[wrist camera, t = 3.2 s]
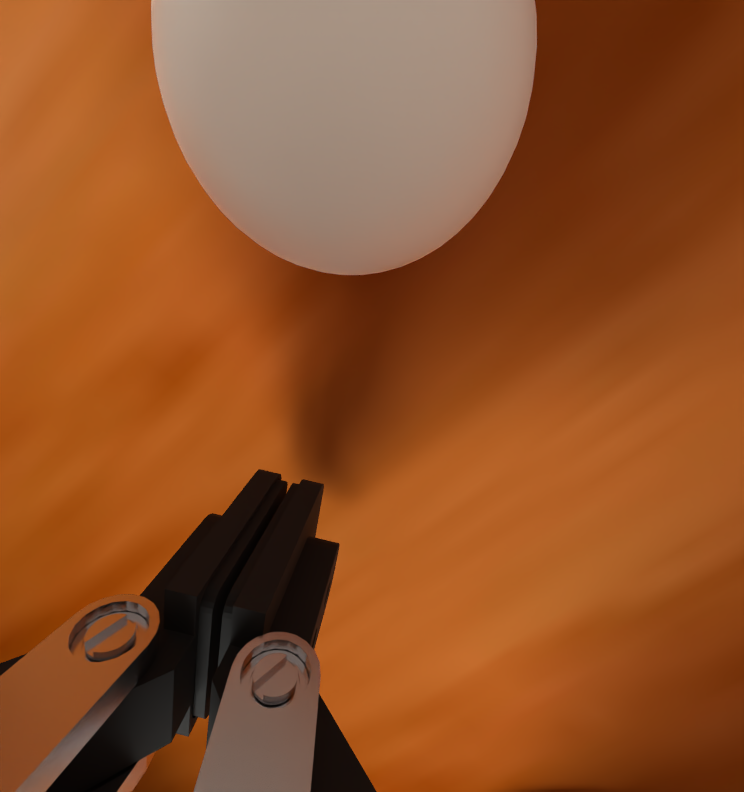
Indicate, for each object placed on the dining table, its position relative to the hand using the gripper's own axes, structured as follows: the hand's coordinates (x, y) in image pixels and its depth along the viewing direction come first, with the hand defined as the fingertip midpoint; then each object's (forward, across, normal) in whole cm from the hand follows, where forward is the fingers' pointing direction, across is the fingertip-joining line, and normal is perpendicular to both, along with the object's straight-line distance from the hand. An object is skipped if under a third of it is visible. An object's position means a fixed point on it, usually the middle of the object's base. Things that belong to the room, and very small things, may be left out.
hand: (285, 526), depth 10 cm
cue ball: (-1, 0, -9) cm, 9 cm away
